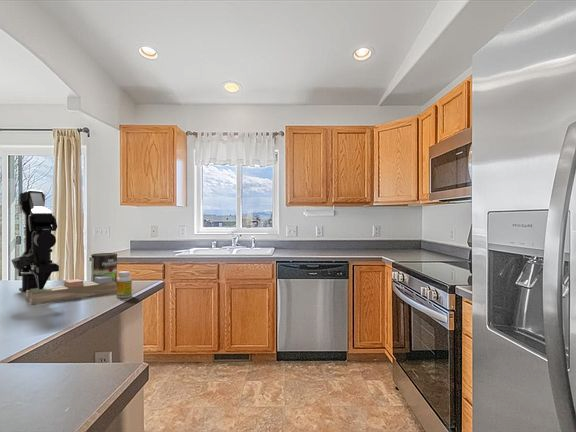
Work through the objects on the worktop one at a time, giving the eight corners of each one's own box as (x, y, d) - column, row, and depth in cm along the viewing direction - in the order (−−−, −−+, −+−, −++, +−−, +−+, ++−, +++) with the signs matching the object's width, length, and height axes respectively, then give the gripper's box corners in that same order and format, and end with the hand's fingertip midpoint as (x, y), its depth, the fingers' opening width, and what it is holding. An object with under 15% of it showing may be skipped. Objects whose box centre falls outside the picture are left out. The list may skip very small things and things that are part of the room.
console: (25, 301, 131) (26, 290, 131) (108, 288, 154) (108, 279, 154) (32, 304, 127) (32, 293, 127) (115, 291, 149) (116, 282, 149)
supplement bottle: (125, 298, 138) (125, 273, 138) (113, 297, 139) (113, 272, 139) (134, 295, 143) (134, 271, 143) (122, 294, 144) (122, 270, 144)
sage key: (30, 299, 132) (30, 288, 131) (46, 297, 135) (46, 286, 135) (34, 302, 128) (34, 291, 128) (50, 299, 132) (51, 289, 132)
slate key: (94, 286, 148) (94, 277, 148) (106, 285, 152) (106, 275, 152) (99, 288, 145) (99, 278, 145) (112, 286, 149) (112, 277, 149)
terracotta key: (64, 291, 140) (64, 280, 140) (78, 289, 144) (78, 279, 144) (69, 293, 137) (69, 282, 137) (83, 291, 140) (83, 280, 140)
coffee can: (121, 285, 161) (122, 254, 161) (99, 289, 152) (99, 256, 152) (108, 282, 167) (108, 252, 166) (85, 286, 158) (86, 254, 158)
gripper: (7, 245, 131) (6, 288, 132) (21, 250, 119) (21, 297, 120) (42, 244, 140) (42, 284, 140) (59, 248, 128) (59, 291, 128)
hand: (40, 289), depth 132 cm, fingers closed, pressing on sage key
